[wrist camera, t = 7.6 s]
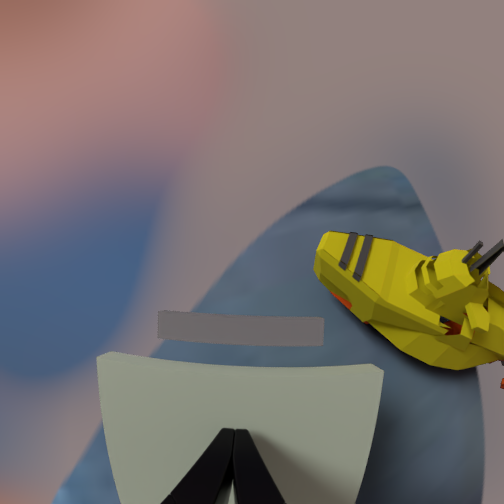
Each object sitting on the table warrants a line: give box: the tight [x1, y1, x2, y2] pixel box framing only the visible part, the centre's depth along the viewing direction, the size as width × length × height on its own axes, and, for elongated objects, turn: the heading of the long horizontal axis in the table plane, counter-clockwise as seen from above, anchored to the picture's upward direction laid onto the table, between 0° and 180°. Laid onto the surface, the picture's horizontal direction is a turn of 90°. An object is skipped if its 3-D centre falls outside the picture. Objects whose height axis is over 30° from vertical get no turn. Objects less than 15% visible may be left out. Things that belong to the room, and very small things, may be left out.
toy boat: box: [313, 231, 504, 389], centre depth 12 cm, size 6×18×10 cm, turn 63°
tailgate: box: [97, 310, 384, 504], centre depth 9 cm, size 2×10×12 cm
